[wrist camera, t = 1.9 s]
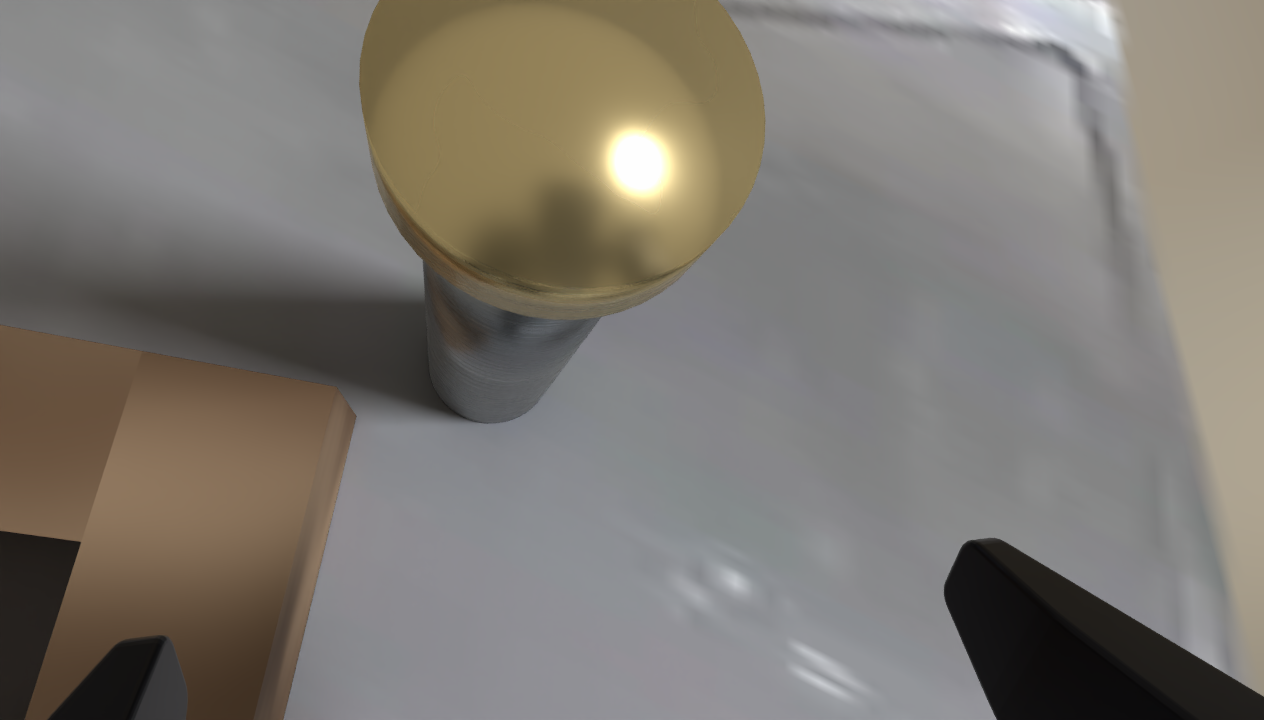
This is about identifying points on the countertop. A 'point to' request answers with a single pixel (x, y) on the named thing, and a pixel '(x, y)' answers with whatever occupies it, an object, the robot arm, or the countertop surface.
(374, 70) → the steel pin
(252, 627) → the socket block
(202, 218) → the countertop surface
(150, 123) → the countertop surface
